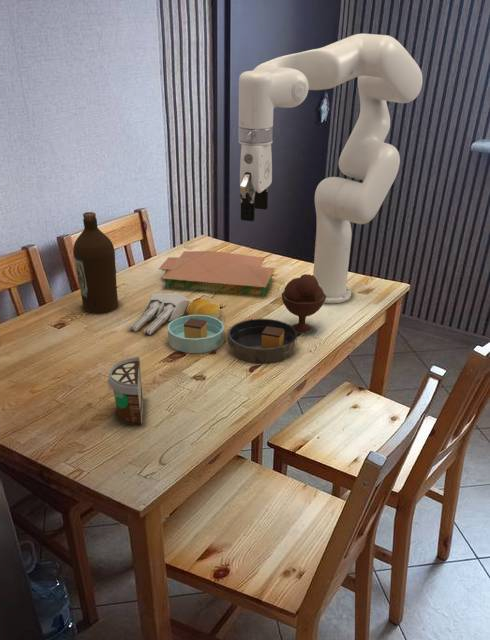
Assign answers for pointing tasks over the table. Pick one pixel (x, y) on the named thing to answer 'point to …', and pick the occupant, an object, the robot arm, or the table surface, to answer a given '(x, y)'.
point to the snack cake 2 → (272, 337)
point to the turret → (161, 310)
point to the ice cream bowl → (303, 299)
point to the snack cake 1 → (195, 328)
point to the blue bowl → (200, 344)
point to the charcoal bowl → (260, 341)
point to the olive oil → (95, 267)
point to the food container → (127, 390)
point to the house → (218, 270)
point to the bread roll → (204, 308)
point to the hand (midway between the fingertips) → (254, 214)
